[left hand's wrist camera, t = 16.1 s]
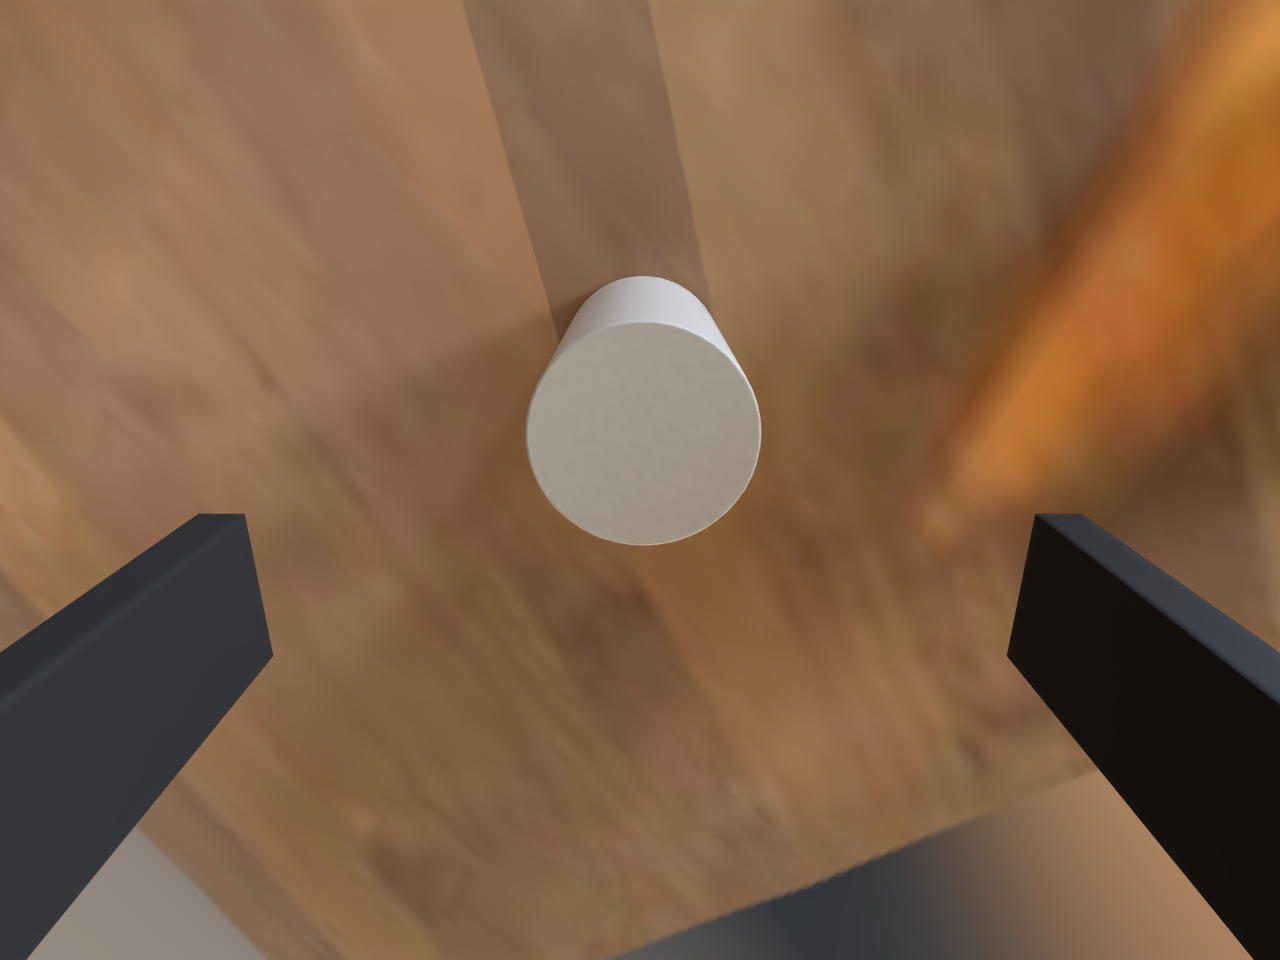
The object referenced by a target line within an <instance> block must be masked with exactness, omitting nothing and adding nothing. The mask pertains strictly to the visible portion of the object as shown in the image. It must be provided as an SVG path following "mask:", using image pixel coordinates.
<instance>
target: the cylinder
mask: <svg viewBox="0 0 1280 960" xmlns="http://www.w3.org/2000/svg"><path fill="white" fill-rule="evenodd" d="M525 438H526V448H527V454H528V459H529V462H530V465H531V469H532V472H533V474H534V476H535V478H536V480H537V483H538V485H539V486H540V488H541V489H542V491H543V493H544V494H545V496H546V497H547V498H548V500H549V501H550V502H551V503H552V504H553V506H554V507H555V508H556V509H557V510H558V511H559V512H560V513H561V514H562V515H563V516H565V517H566V518H567V519H568V520H570V521H571V522H572V523H574V524H575V525H577V526H578V527H580V528H581V529H583V530H585V531H587V532H589V533H591V534H593V535H595V536H598V537H600V538H603V539H606V540H609V541H613V542H617V543H622V544H630V545H656V544H664V543H669V542H673V541H677V540H680V539H683V538H686V537H689V536H691V535H693V534H695V533H697V532H699V531H701V530H703V529H705V528H706V527H708V526H710V525H711V524H713V523H714V522H716V521H717V520H718V519H719V518H720V517H722V516H723V515H724V514H725V513H726V512H727V511H728V510H729V509H730V508H731V507H732V506H733V505H734V504H735V503H736V502H737V500H738V499H739V497H740V496H741V494H742V493H743V492H744V490H745V489H746V487H747V485H748V483H749V481H750V479H751V477H752V475H753V472H754V469H755V467H756V464H757V460H758V456H759V451H760V443H761V420H760V414H759V409H758V404H757V401H756V398H755V395H754V393H753V390H752V388H751V386H750V384H749V382H748V380H747V378H746V376H745V374H744V373H743V371H742V369H741V367H740V366H739V364H738V362H737V360H736V359H735V357H734V355H733V354H732V352H731V350H730V348H729V347H728V345H727V343H726V341H725V340H724V338H723V336H722V335H721V333H720V331H719V329H718V328H717V326H716V324H715V322H714V321H713V319H712V317H711V315H710V314H709V312H708V311H707V309H706V308H705V307H704V305H703V304H702V303H701V302H700V301H699V300H698V299H697V297H695V296H694V295H693V294H692V293H691V292H689V291H688V290H686V289H685V288H683V287H682V286H680V285H678V284H676V283H674V282H671V281H669V280H665V279H662V278H657V277H651V276H635V277H628V278H624V279H620V280H617V281H614V282H612V283H609V284H607V285H606V286H604V287H602V288H600V289H599V290H598V291H596V292H595V293H594V294H592V295H591V296H590V297H589V298H588V299H587V300H586V301H585V302H584V303H583V305H582V306H581V307H580V309H579V310H578V311H577V313H576V315H575V317H574V318H573V320H572V322H571V324H570V325H569V327H568V329H567V331H566V333H565V334H564V336H563V338H562V340H561V342H560V343H559V345H558V347H557V349H556V350H555V352H554V354H553V356H552V358H551V359H550V361H549V363H548V365H547V367H546V368H545V370H544V372H543V374H542V375H541V377H540V379H539V381H538V383H537V384H536V386H535V389H534V391H533V394H532V396H531V399H530V403H529V407H528V411H527V416H526V426H525Z"/></svg>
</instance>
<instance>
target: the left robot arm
mask: <svg viewBox="0 0 1280 960" xmlns="http://www.w3.org/2000/svg"><path fill="white" fill-rule="evenodd" d="M272 657H273V653H272V648H271V643H270V638H269V633H268V628H267V623H266V618H265V613H264V608H263V603H262V598H261V593H260V588H259V583H258V578H257V573H256V568H255V563H254V558H253V553H252V548H251V543H250V538H249V533H248V528H247V523H246V518H245V514H198V515H196V516H195V517H193V518H192V519H190V520H189V521H188V522H186V523H185V524H183V525H182V526H180V527H179V528H178V529H176V530H175V531H173V532H172V533H170V534H169V535H168V536H166V537H165V538H163V539H162V540H160V541H159V542H158V543H156V544H155V545H153V546H152V547H150V548H149V549H148V550H146V551H145V552H143V553H142V554H140V555H139V556H138V557H136V558H135V559H133V560H132V561H130V562H129V563H128V564H126V565H125V566H123V567H122V568H120V569H119V570H118V571H116V572H115V573H113V574H112V575H110V576H109V577H108V578H106V579H105V580H103V581H102V582H100V583H99V584H98V585H96V586H95V587H93V588H92V589H90V590H89V591H88V592H86V593H85V594H83V595H82V596H80V597H79V598H78V599H76V600H75V601H73V602H72V603H70V604H69V605H68V606H66V607H65V608H63V609H62V610H60V611H59V612H58V613H56V614H55V615H53V616H52V617H50V618H49V619H48V620H46V621H45V622H43V623H42V624H40V625H39V626H38V627H36V628H35V629H33V630H32V631H30V632H29V633H28V634H26V635H25V636H23V637H22V638H20V639H19V640H18V641H16V642H15V643H13V644H12V645H10V646H9V647H8V648H6V649H5V650H3V651H2V652H0V960H26V959H27V958H28V957H29V956H30V954H31V953H32V952H33V951H34V949H35V948H36V947H37V946H38V944H39V943H40V942H41V941H42V940H43V938H44V937H45V936H46V935H47V933H48V932H49V931H50V930H51V929H52V927H53V926H54V925H55V924H56V922H57V921H58V920H59V919H60V917H61V916H62V915H63V914H64V913H65V911H66V910H67V909H68V908H69V906H70V905H71V904H72V903H73V901H74V900H75V899H76V898H77V897H78V895H79V894H80V893H81V892H82V890H83V889H84V888H85V887H86V885H87V884H88V883H89V882H90V881H91V879H92V878H93V877H94V876H95V874H96V873H97V872H98V871H99V869H100V868H101V867H102V866H103V865H104V863H105V862H106V861H107V860H108V858H109V857H110V856H111V855H112V853H113V852H114V851H115V850H116V848H117V847H118V846H119V845H120V844H121V842H122V841H123V840H124V839H125V837H126V836H127V835H128V834H129V833H130V831H131V830H132V829H133V828H134V826H135V825H136V824H137V823H138V822H139V820H140V819H141V818H142V817H143V815H144V814H145V813H146V812H147V810H148V809H149V808H150V807H151V806H152V804H153V803H154V802H155V801H156V799H157V798H158V797H159V796H160V794H161V793H162V792H163V791H164V790H165V788H166V787H167V786H168V785H169V783H170V782H171V781H172V780H173V778H174V777H175V776H176V775H177V774H178V772H179V771H180V770H181V769H182V767H183V766H184V765H185V764H186V763H187V761H188V760H189V759H190V758H191V756H192V755H193V754H194V753H195V751H196V750H197V749H198V748H199V747H200V745H201V744H202V743H203V742H204V740H205V739H206V738H207V737H208V735H209V734H210V733H211V732H212V731H213V729H214V728H215V727H216V726H217V724H218V723H219V722H220V721H221V719H222V718H223V717H224V716H225V715H226V713H227V712H228V711H229V710H230V708H231V707H232V706H233V705H234V703H235V702H236V701H237V700H238V699H239V697H240V696H241V695H242V694H243V692H244V691H245V690H246V689H247V687H248V686H249V685H250V684H251V683H252V681H253V680H254V679H255V678H256V676H257V675H258V674H259V673H260V672H261V670H262V669H263V668H264V667H265V665H266V664H267V663H268V662H269V660H270V659H271V658H272ZM1007 657H1008V658H1009V659H1010V660H1011V662H1012V663H1013V664H1014V665H1015V667H1016V668H1017V669H1018V670H1019V672H1020V673H1021V674H1022V675H1023V676H1024V678H1025V679H1026V680H1027V681H1028V683H1029V684H1030V685H1031V686H1032V687H1033V689H1034V690H1035V691H1036V692H1037V694H1038V695H1039V696H1040V697H1041V699H1042V700H1043V701H1044V702H1045V703H1046V705H1047V706H1048V707H1049V708H1050V710H1051V711H1052V712H1053V713H1054V715H1055V716H1056V717H1057V718H1058V719H1059V721H1060V722H1061V723H1062V724H1063V726H1064V727H1065V728H1066V729H1067V731H1068V732H1069V733H1070V734H1071V735H1072V737H1073V738H1074V739H1075V740H1076V742H1077V743H1078V744H1079V745H1080V747H1081V748H1082V749H1083V750H1084V751H1085V753H1086V754H1087V755H1088V756H1089V758H1090V759H1091V760H1092V761H1093V763H1094V764H1095V765H1096V766H1097V767H1098V769H1099V770H1100V771H1101V772H1102V774H1103V775H1104V776H1105V777H1106V778H1107V780H1108V781H1109V782H1110V783H1111V785H1112V786H1113V787H1114V788H1115V790H1116V791H1117V792H1118V793H1119V794H1120V796H1121V797H1122V798H1123V799H1124V801H1125V802H1126V803H1127V804H1128V806H1129V807H1130V808H1131V809H1132V810H1133V812H1134V813H1135V814H1136V815H1137V817H1138V818H1139V819H1140V820H1141V822H1142V823H1143V824H1144V825H1145V826H1146V828H1147V829H1148V830H1149V831H1150V833H1151V834H1152V835H1153V836H1154V837H1155V839H1156V840H1157V841H1158V842H1159V844H1160V845H1161V846H1162V847H1163V849H1164V850H1165V851H1166V852H1167V853H1168V855H1169V856H1170V857H1171V858H1172V860H1173V861H1174V862H1175V863H1176V865H1177V866H1178V867H1179V868H1180V869H1181V871H1182V872H1183V873H1184V874H1185V876H1186V877H1187V878H1188V879H1189V881H1190V882H1191V883H1192V884H1193V885H1194V887H1195V888H1196V889H1197V890H1198V892H1199V893H1200V894H1201V895H1202V897H1203V898H1204V899H1205V900H1206V901H1207V903H1208V904H1209V905H1210V906H1211V908H1212V909H1213V910H1214V911H1215V913H1216V914H1217V915H1218V916H1219V917H1220V919H1221V920H1222V921H1223V922H1224V924H1225V925H1226V926H1227V927H1228V928H1229V930H1230V931H1231V932H1232V933H1233V935H1234V936H1235V937H1236V938H1237V940H1238V941H1239V942H1240V943H1241V945H1242V946H1243V947H1244V948H1245V949H1246V951H1247V952H1248V953H1249V954H1250V956H1251V957H1252V958H1253V959H1254V960H1280V652H1278V651H1277V650H1275V649H1274V648H1272V647H1271V646H1270V645H1268V644H1267V643H1265V642H1264V641H1262V640H1261V639H1260V638H1258V637H1257V636H1255V635H1254V634H1252V633H1251V632H1250V631H1248V630H1247V629H1245V628H1244V627H1242V626H1241V625H1240V624H1238V623H1237V622H1235V621H1234V620H1232V619H1231V618H1230V617H1228V616H1227V615H1225V614H1224V613H1222V612H1221V611H1220V610H1218V609H1217V608H1215V607H1214V606H1212V605H1211V604H1210V603H1208V602H1207V601H1205V600H1204V599H1202V598H1201V597H1200V596H1198V595H1197V594H1195V593H1194V592H1192V591H1191V590H1190V589H1188V588H1187V587H1185V586H1184V585H1182V584H1181V583H1180V582H1178V581H1177V580H1175V579H1174V578H1172V577H1171V576H1170V575H1168V574H1167V573H1165V572H1164V571H1162V570H1161V569H1160V568H1158V567H1157V566H1155V565H1154V564H1152V563H1151V562H1150V561H1148V560H1147V559H1145V558H1144V557H1142V556H1141V555H1140V554H1138V553H1137V552H1135V551H1134V550H1132V549H1131V548H1130V547H1128V546H1127V545H1125V544H1124V543H1122V542H1121V541H1120V540H1118V539H1117V538H1115V537H1114V536H1112V535H1111V534H1110V533H1108V532H1107V531H1105V530H1104V529H1102V528H1101V527H1100V526H1098V525H1097V524H1095V523H1094V522H1092V521H1091V520H1090V519H1088V518H1087V517H1085V516H1084V515H1082V514H1035V518H1034V523H1033V528H1032V533H1031V538H1030V543H1029V548H1028V553H1027V558H1026V563H1025V568H1024V573H1023V578H1022V583H1021V588H1020V593H1019V598H1018V603H1017V608H1016V613H1015V618H1014V623H1013V628H1012V633H1011V638H1010V643H1009V648H1008V653H1007Z"/></svg>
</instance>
